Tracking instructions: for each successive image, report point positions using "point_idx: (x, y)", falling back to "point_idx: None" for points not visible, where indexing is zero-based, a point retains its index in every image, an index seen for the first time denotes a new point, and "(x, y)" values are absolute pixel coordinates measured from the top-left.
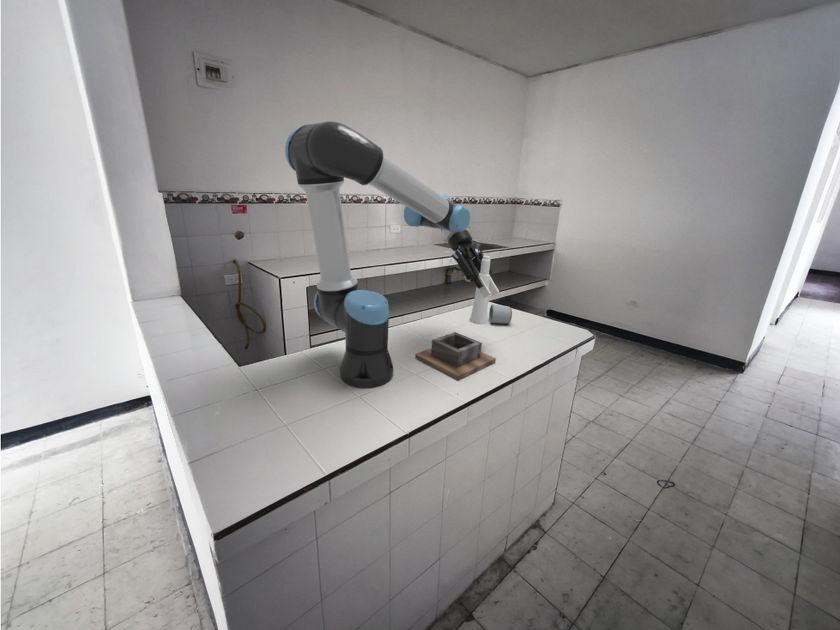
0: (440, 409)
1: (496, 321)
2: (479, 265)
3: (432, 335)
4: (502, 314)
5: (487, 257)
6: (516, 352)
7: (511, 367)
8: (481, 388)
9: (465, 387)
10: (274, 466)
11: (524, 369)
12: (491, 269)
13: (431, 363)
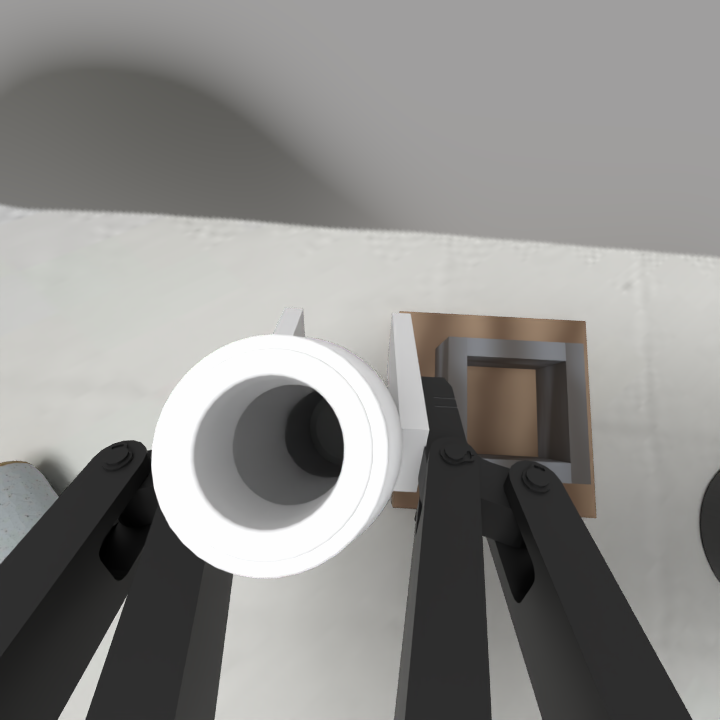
0: (710, 272)
1: None
2: (204, 635)
3: (388, 620)
4: (26, 496)
5: (348, 362)
6: (277, 308)
7: (387, 266)
8: (556, 260)
9: (586, 291)
10: None
11: (369, 236)
12: (79, 476)
13: (588, 434)
